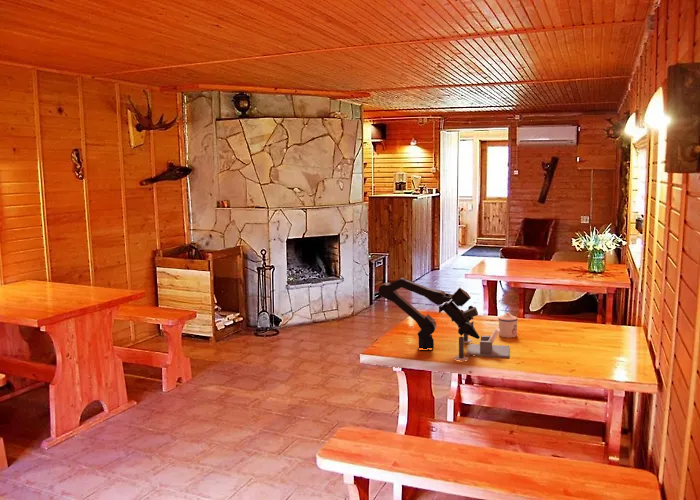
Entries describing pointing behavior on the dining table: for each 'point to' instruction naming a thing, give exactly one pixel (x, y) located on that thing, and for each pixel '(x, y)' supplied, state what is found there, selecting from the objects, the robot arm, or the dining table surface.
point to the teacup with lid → (508, 325)
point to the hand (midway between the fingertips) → (479, 338)
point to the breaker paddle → (494, 334)
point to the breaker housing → (488, 349)
